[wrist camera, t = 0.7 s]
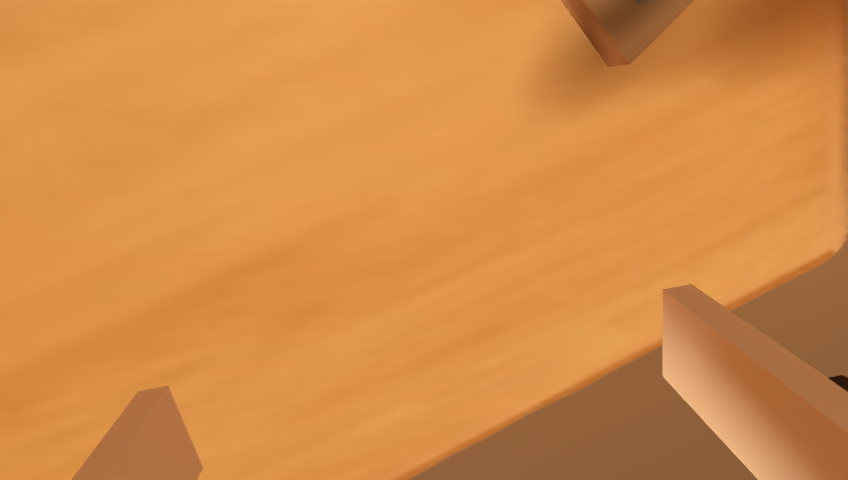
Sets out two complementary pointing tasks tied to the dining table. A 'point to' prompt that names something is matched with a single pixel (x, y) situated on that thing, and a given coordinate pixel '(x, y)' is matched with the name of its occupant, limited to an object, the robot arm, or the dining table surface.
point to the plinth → (623, 24)
